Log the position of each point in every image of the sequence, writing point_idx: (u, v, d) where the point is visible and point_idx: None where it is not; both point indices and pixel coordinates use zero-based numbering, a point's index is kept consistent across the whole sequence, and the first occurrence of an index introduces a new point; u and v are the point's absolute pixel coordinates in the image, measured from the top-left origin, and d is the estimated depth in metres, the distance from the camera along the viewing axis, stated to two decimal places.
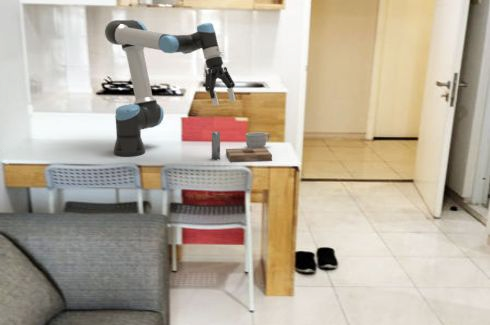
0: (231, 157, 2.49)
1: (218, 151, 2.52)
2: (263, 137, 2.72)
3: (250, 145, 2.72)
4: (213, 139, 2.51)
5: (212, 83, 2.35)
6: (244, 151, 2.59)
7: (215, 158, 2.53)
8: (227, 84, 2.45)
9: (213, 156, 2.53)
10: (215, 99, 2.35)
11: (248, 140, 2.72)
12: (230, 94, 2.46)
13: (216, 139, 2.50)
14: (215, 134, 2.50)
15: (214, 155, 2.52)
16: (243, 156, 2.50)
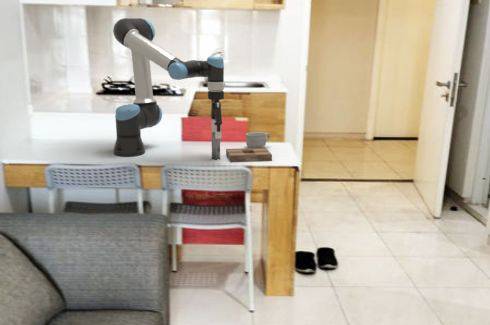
0: (231, 157, 2.49)
1: (218, 151, 2.52)
2: (263, 137, 2.72)
3: (250, 145, 2.72)
4: (213, 139, 2.51)
5: None
6: (244, 151, 2.59)
7: (215, 158, 2.53)
8: (214, 115, 2.55)
9: (213, 156, 2.53)
10: (219, 132, 2.44)
11: (248, 140, 2.72)
12: (214, 125, 2.57)
13: (216, 139, 2.50)
14: None
15: (214, 155, 2.52)
16: (243, 156, 2.50)
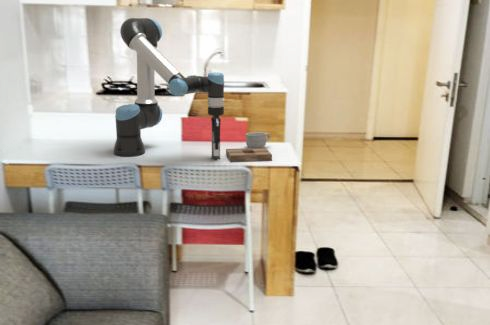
0: (231, 157, 2.49)
1: None
2: (263, 137, 2.72)
3: (250, 145, 2.72)
4: (213, 139, 2.51)
5: None
6: (244, 151, 2.59)
7: (215, 158, 2.53)
8: None
9: (213, 156, 2.53)
10: (217, 150, 2.51)
11: (248, 140, 2.72)
12: None
13: None
14: None
15: None
16: (243, 156, 2.50)
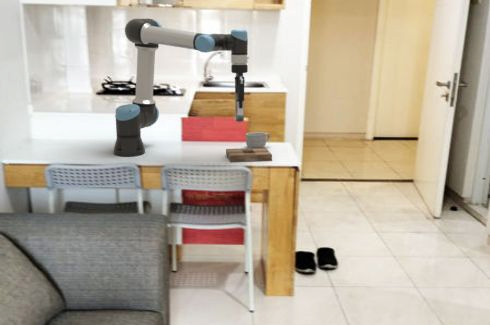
0: (231, 157, 2.49)
1: None
2: (263, 137, 2.72)
3: (250, 145, 2.72)
4: None
5: None
6: (244, 151, 2.59)
7: (239, 120, 2.50)
8: None
9: (237, 118, 2.50)
10: (241, 109, 2.48)
11: (248, 140, 2.72)
12: None
13: None
14: None
15: (238, 117, 2.49)
16: (243, 156, 2.50)
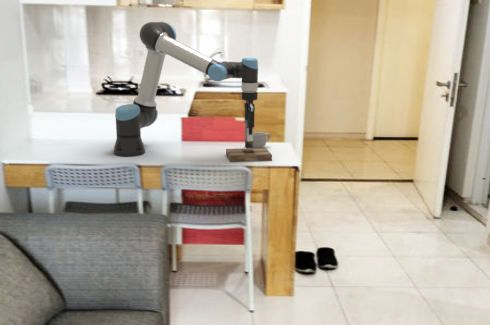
0: (231, 157, 2.49)
1: None
2: (263, 137, 2.72)
3: None
4: None
5: None
6: (244, 151, 2.59)
7: (248, 146, 2.54)
8: (248, 120, 2.55)
9: (247, 144, 2.54)
10: (251, 135, 2.52)
11: None
12: None
13: None
14: None
15: (247, 143, 2.54)
16: (243, 156, 2.50)
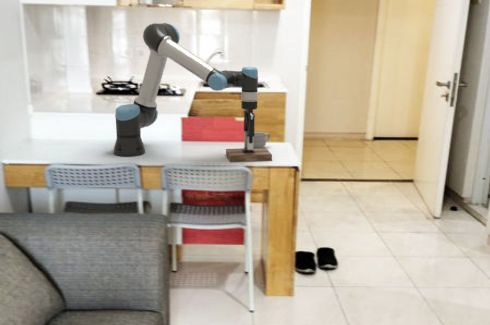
0: (231, 157, 2.49)
1: (251, 150, 2.55)
2: (263, 137, 2.72)
3: None
4: (246, 138, 2.53)
5: None
6: (244, 151, 2.59)
7: None
8: (247, 127, 2.57)
9: None
10: (251, 144, 2.52)
11: None
12: None
13: None
14: None
15: None
16: (243, 156, 2.50)
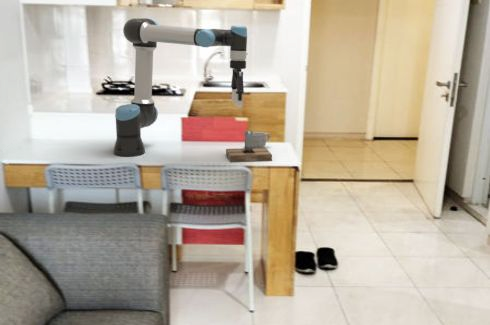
0: (231, 157, 2.49)
1: (251, 150, 2.55)
2: (263, 137, 2.72)
3: None
4: (246, 138, 2.53)
5: None
6: None
7: None
8: (235, 85, 2.56)
9: None
10: (240, 102, 2.45)
11: None
12: (234, 95, 2.57)
13: (250, 138, 2.53)
14: (248, 133, 2.53)
15: None
16: (243, 156, 2.50)
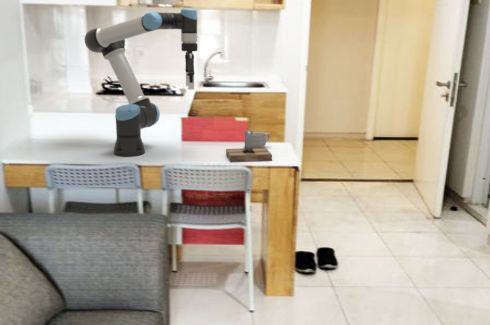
0: (231, 157, 2.49)
1: (251, 150, 2.55)
2: (263, 137, 2.72)
3: None
4: (246, 138, 2.53)
5: None
6: None
7: None
8: (188, 68, 2.59)
9: None
10: (192, 83, 2.48)
11: None
12: (188, 78, 2.61)
13: (250, 138, 2.53)
14: (248, 133, 2.52)
15: None
16: (243, 156, 2.50)
